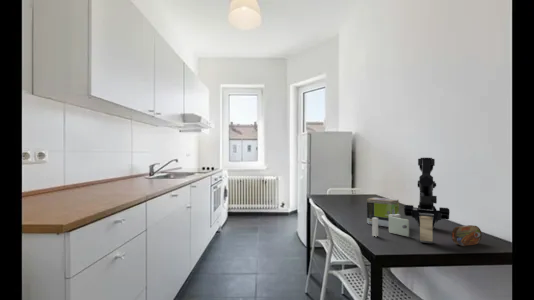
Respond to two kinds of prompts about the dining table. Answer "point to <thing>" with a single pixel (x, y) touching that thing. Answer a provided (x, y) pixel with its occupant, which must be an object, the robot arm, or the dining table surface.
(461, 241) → the tin
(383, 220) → the tea box
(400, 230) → the door leaf
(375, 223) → the door frame
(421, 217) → the block
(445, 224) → the dining table surface
